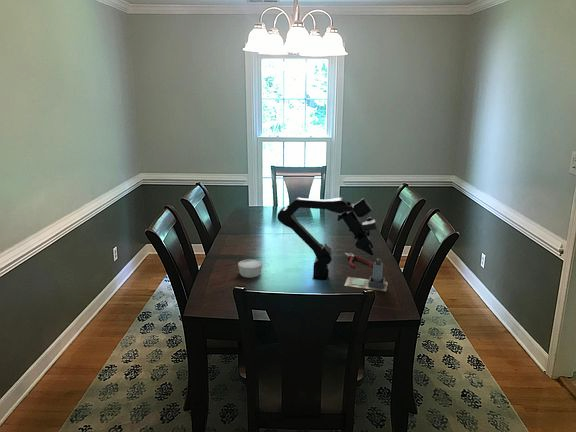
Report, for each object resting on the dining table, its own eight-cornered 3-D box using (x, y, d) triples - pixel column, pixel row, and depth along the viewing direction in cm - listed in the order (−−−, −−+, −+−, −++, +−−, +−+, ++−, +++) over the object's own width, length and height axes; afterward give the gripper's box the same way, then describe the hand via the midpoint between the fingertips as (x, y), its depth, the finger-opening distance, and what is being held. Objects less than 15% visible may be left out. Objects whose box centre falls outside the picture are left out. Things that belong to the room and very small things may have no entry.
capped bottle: (371, 286, 200) (373, 260, 197) (372, 282, 204) (374, 257, 201) (380, 287, 199) (382, 261, 196) (381, 283, 203) (383, 258, 200)
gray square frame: (368, 287, 200) (368, 281, 199) (369, 281, 206) (370, 276, 205) (383, 289, 198) (384, 283, 197) (384, 283, 204) (385, 277, 203)
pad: (351, 284, 202) (351, 283, 202) (353, 279, 207) (353, 278, 207) (364, 286, 201) (364, 285, 201) (365, 281, 206) (365, 280, 206)
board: (344, 286, 201) (344, 285, 201) (347, 277, 210) (348, 276, 210) (386, 291, 196) (386, 291, 196) (387, 282, 205) (387, 282, 205)
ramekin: (252, 267, 220) (252, 257, 219) (267, 274, 212) (267, 264, 211) (233, 273, 213) (233, 262, 212) (247, 281, 205) (247, 270, 204)
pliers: (357, 254, 242) (357, 249, 241) (374, 268, 223) (374, 263, 223) (336, 256, 239) (337, 251, 238) (352, 270, 220) (352, 265, 220)
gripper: (368, 219, 189) (389, 249, 191) (368, 207, 207) (387, 235, 209) (346, 233, 192) (367, 262, 194) (347, 221, 210) (366, 248, 212)
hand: (372, 251), depth 202 cm, fingers open, 9 cm apart
